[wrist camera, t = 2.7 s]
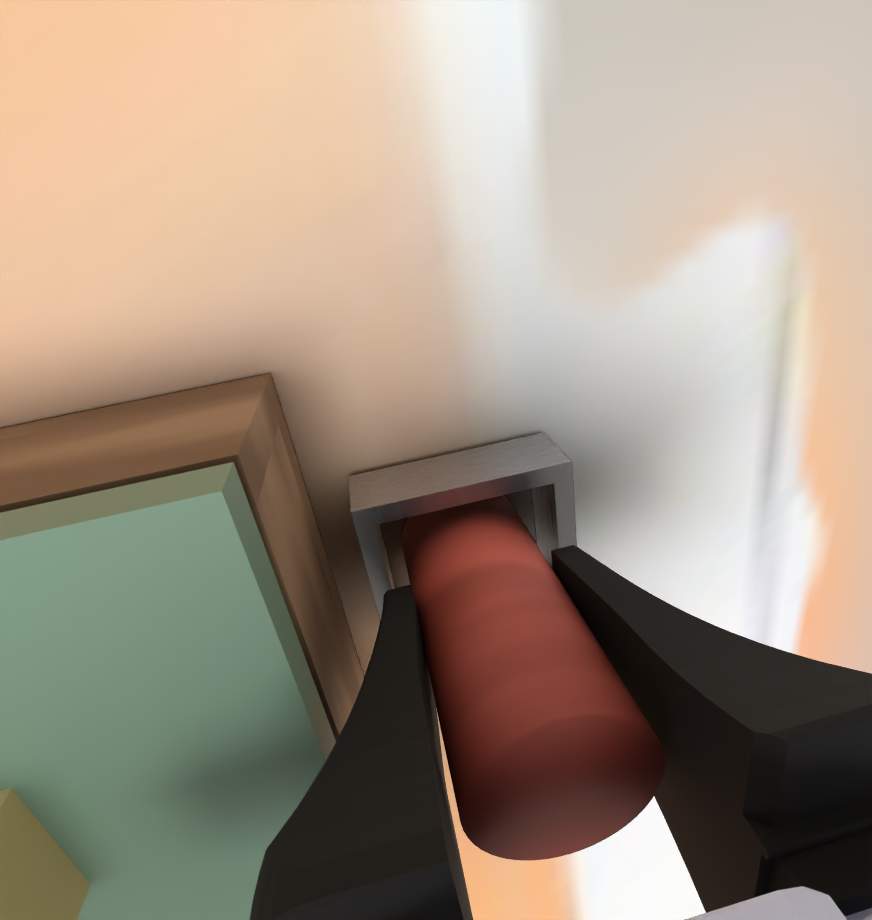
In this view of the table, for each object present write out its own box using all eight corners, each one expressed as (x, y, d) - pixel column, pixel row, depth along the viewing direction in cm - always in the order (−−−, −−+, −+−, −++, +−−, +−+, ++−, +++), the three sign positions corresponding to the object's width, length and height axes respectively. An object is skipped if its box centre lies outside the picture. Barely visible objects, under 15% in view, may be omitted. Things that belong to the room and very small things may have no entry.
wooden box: (373, 708, 18) (386, 866, 14) (-57, 821, 17) (-195, 1035, 13) (270, 373, 13) (237, 454, 9) (-358, 501, 12) (-774, 672, 7)
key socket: (555, 587, 18) (581, 629, 16) (389, 629, 17) (395, 678, 15) (543, 432, 15) (572, 461, 13) (348, 476, 15) (351, 512, 13)
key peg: (523, 569, 17) (662, 826, 10) (413, 596, 17) (474, 882, 10) (512, 471, 16) (668, 689, 8) (391, 498, 15) (444, 751, 8)
